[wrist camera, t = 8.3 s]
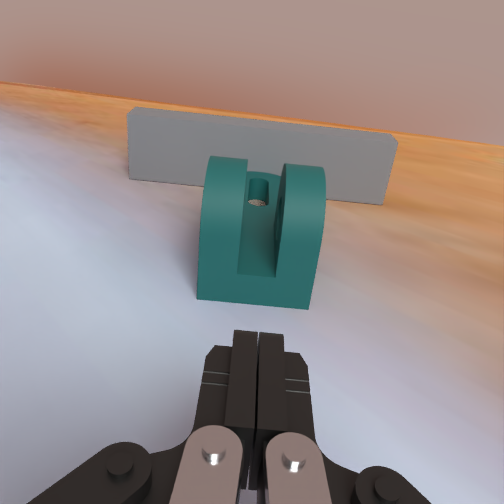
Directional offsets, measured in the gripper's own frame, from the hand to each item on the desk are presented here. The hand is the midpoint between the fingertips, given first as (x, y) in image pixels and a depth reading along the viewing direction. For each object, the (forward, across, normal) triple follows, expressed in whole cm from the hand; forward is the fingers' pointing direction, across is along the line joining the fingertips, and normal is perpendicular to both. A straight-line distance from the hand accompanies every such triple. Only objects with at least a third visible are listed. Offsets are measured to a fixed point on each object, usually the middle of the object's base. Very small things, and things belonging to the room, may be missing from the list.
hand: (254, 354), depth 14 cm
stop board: (+31, 0, +7) cm, 32 cm away
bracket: (+21, 0, +7) cm, 22 cm away
